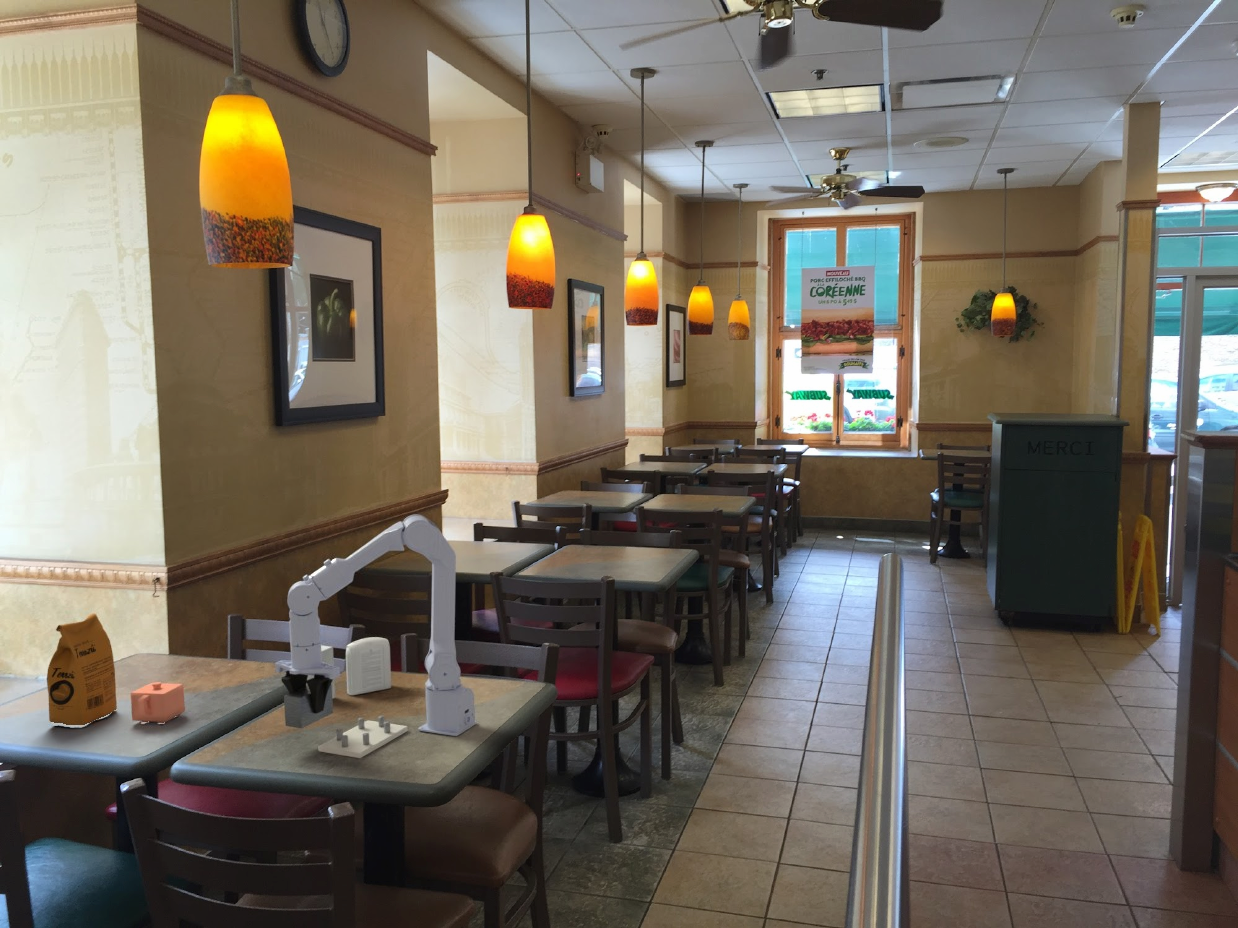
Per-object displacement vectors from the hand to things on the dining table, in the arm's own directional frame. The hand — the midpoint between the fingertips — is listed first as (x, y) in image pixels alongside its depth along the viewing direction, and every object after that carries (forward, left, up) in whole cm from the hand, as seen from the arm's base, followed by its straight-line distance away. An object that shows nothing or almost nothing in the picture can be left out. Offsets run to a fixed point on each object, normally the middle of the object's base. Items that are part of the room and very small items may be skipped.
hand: (309, 710), depth 189 cm
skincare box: (+17, -22, -7) cm, 29 cm away
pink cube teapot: (+41, 0, -7) cm, 42 cm away
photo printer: (+10, -31, -7) cm, 33 cm away
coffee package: (+57, +6, -7) cm, 58 cm away
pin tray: (-9, -5, -7) cm, 12 cm away
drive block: (0, 0, -2) cm, 2 cm away
